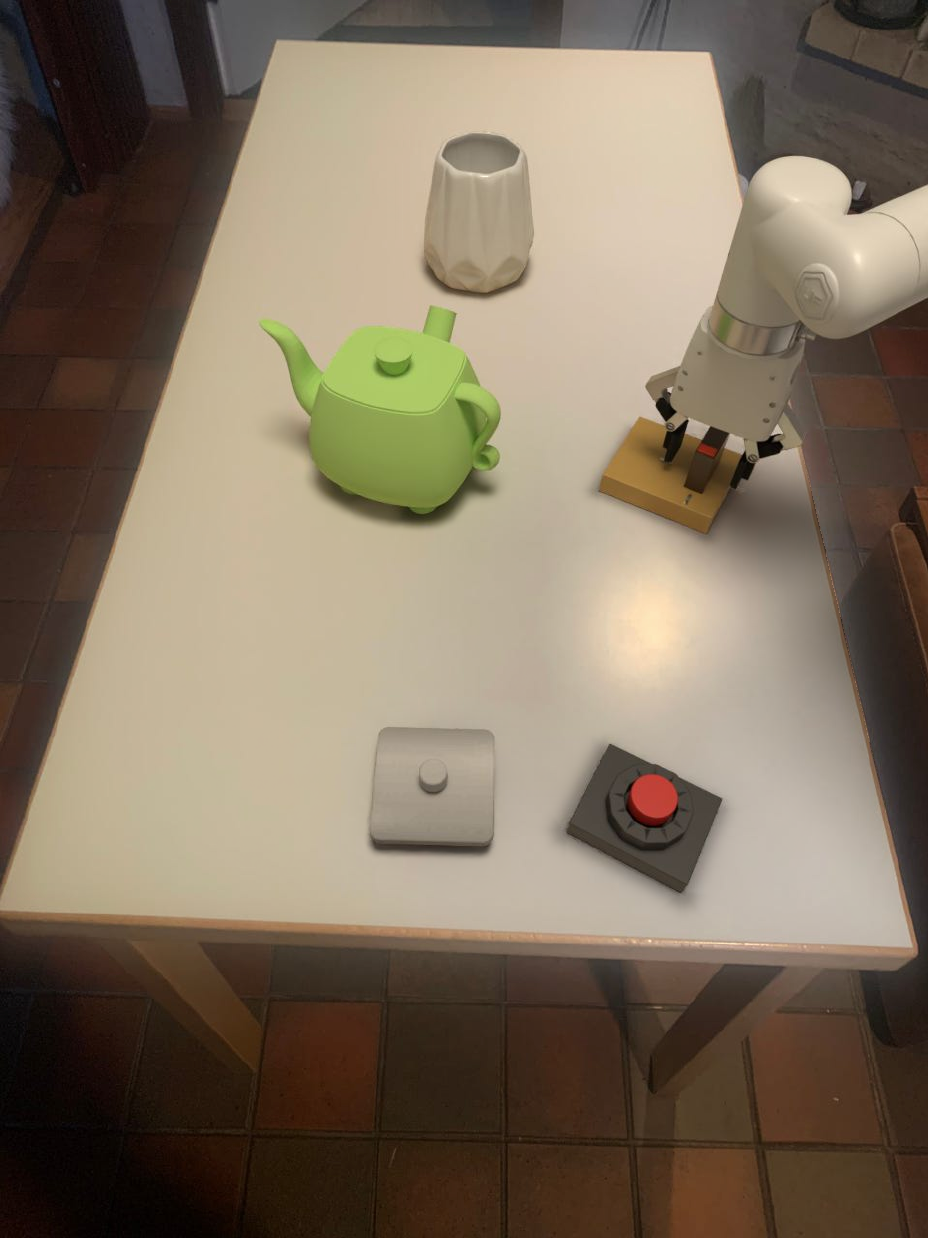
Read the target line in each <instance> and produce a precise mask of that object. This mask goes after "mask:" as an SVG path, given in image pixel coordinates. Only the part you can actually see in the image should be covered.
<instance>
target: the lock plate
mask: <svg viewBox="0 0 928 1238" xmlns="http://www.w3.org/2000/svg"><path fill="white" fill-rule="evenodd" d="M666 432H667V430H666V429H665V427H664V424H661V423H659V422H656V421H654V420H650V419H648V418H645V417H642V416H639V417H638V418H637V420H636V421H635V423H634V425H633V426H632V428H631V429H630V431H629V432H628V433H627V436H626V437H625V438H624V440H623V441H622V443H621V445H620V447H619V448H618V449H617V451H616V453H615V455H614V456H613V457H612V459H611V461H610V462H609V463H608V465H607V467H606V468H605V470H604V471H603V473H602V476H601V480H600V485H599V492H601V493H604V494H606V495H609V496H611V497H614V498H616V499H618V500H621V501H624V502H626V503H629V504H631V505H633V506H636V507H639V508H641V509H643V510H645V511H648V512H651V513H654V514H655V515H658V516H661V517H662V518H666V519H668V520H670V521H673V522H675V523H678V524H680V525H683V526H685V527H688V528H690V529H692V530H695V531H697V532H700V533H703V534H707V533H708V531H709V529H710V527H711V525H712V523H713V522H714V521H715V520H714V519H715V518H716V516H717V514H718V512H719V510H720V508H721V506H722V504H723V502H724V500H725V498H726V496H727V494H728V492H729V491H730V489H733V488H731V486H729V485H730V483H731V480H732V478H733V475H734V472H735V470H736V467H737V465H738V462H739V460H740V458H741V456H742V454H743V453H739V452H736V451H733V450H731V449H728V448H726V447H725V449H724V451H723V454H722V457H721V460H720V462H719V464H718V466H717V468H716V470H715V471H714V473H713V475H712V477H711V479H710V480H709V482H708V484H707V486H706V487H705V489H704V491H703V493H702V494H701V493H698V492H696V491H693V490H691V489H688V488H686V487H684V484H685V481H686V478H687V475H688V472H689V469H690V465H691V462H692V459H693V456H694V453H695V451H696V449H697V448H698V446H699V444H700V443H701V441H702V439H703V438H698V437H696V436H693V435H691V434H688V433H685V435H684V438H683V441H682V445H681V447H680V449H679V450H678V452H677V453H676V455H675V457H674V458H673V460H672V462H669V463H668V462H665V461H664V459H665V455H666V452H667V449H665V448H663V443H664V439H665V436H666ZM733 490H735V491H738V492H740V493H744V492H745V490H746V489H745V488H742V487H739V486H737V488H736V489H733Z"/></svg>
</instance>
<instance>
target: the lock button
mask: <svg viewBox="0 0 928 1238" xmlns="http://www.w3.org/2000/svg"><path fill="white" fill-rule="evenodd" d="M677 803H678V796H677V792H676V789H675V788H674V786H673V785H672V783H671V782H670V781H668V780H667V779H666V778H664V777H662V776H659V775H655V774H648V775H644V776H642V777H640V778H638V779H637V780H636V781H635V782H634V784H633V786H632V788H631V790H630V793H629V795H628V807H629V810H630V812H631V814H632V815H633V816H634V818H636V819H637V820H638V821H639V822H641V823H643V824H646V825H650V826H656V825H661V824H663V823H665V822H666V821H667V820H668V819H669V818H670V817H671V815H672V814H673V812H674V810H675V808H676V806H677Z"/></svg>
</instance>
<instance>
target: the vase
mask: <svg viewBox="0 0 928 1238" xmlns="http://www.w3.org/2000/svg"><path fill="white" fill-rule="evenodd" d="M533 218H534V217H533V208H532V195H531V182H530V173H529V162H528V155H527V153H526V152H525V150H524V149H523V147H522V146H521V145H520V143H518V142H516V141H515V140H514V139H513V138H512V137H509V136H507V135H505V134H502V133H497V132H488V131H486V130H477V131H476V130H475V131H467V132H461V133H460V134H457V135H453V136H451V137H448V138H446V139H445V140H443V142H442V143H441V145H440V147H439V150H438V152H437V153H436V156H435V160H434V165H433V170H432V176H431V184H430V188H429V195H428V200H427V204H426V210H425V217H424V230H423V231H424V238H423V253H424V257H425V259H426V262H427V263H428V265H429V267H430V268H431V269H432V271H433V272H434V275H435V277H436V278H437V279H438V280H439V281H440V282H441V283H442V284H444V285H445V286H447V287H449V288H451V289H455V290H460V291H466V292H471V293H472V292H473V293H482V294H487V293H491V292H493V291H496V290H498V289H500V288H504V287H506V286H509V285H511V284H513V283H514V282H516V281H517V280H519V278H520V277H521V275H522V274H523V272H524V270H525V268H526V267H527V265H528V260H529V255H530V251H531V248H532V246H533V243H534V237H535V227H534V219H533Z"/></svg>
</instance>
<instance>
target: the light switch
mask: <svg viewBox="0 0 928 1238" xmlns="http://www.w3.org/2000/svg"><path fill="white" fill-rule="evenodd" d="M375 754H376V755H375V765H374V774H373V775H374V776H373V786H372V798H371V808H370V809H371V810H370V818H369V836H370V839H371V841H373V842H375V843H376V844H390V845H392V844H393V845H421V846H424V845H425V846H426V845H427V846H461V847H462V846H463V847H465V846H466V847H468V846H469V847H485V846H486V847H487V846H489V845H490V844H491V843H493V840H494V837H495V736H494V733H493V732H492V731H490V730H489V729H481V728H479V729H478V728H477V729H476V728H444V727H443V728H441V727H439V728H438V727H405V726H403V727H402V726H401V727H400V726H386V727H383V728H382V729H380V731H379V732H378V735H377V744H376V753H375Z"/></svg>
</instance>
